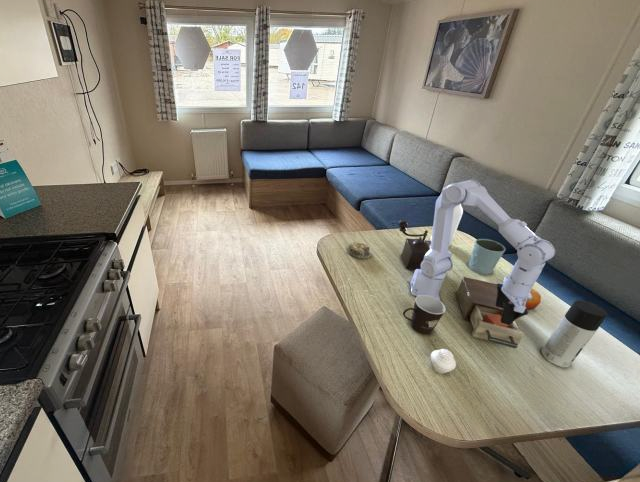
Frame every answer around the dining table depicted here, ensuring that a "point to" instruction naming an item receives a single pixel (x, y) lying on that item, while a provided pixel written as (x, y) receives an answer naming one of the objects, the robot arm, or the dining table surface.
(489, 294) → the cabinet
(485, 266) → the green plant pot
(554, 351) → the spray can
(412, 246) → the manual coffee grinder
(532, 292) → the fruit
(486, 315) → the block
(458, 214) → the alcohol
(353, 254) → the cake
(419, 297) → the coffee mug
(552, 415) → the dining table surface
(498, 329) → the drawer
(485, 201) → the robot arm
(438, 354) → the white garlic bulb
